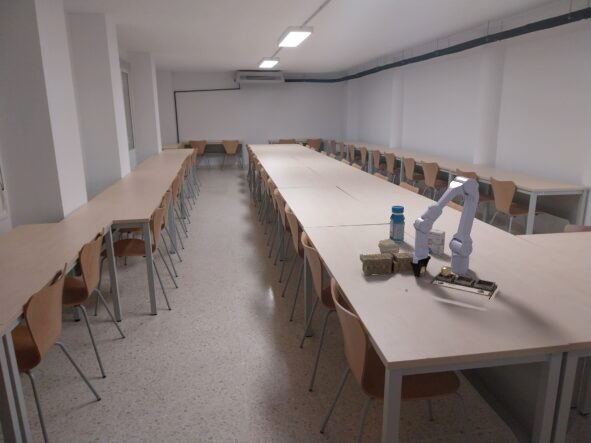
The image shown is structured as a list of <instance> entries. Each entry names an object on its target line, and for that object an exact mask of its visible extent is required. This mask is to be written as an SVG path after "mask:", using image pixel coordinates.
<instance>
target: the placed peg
mask: <svg viewBox="0 0 591 443" xmlns="http://www.w3.org/2000/svg"><path fill="white" fill-rule="evenodd" d="M440 272H441V277H443V278H448V279H450V277H451V274H452V271H451V266H445V265H444V266H441V268H440Z"/></svg>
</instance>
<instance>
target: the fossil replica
mask: <svg viewBox="0 0 591 443" xmlns="http://www.w3.org/2000/svg"><path fill="white" fill-rule="evenodd" d="M377 246H378V248H379V254H384V253H386V254H387V253H390V254H391V255H392V256H393V253H400V247H399V244H397V242H394V241H393V240H391V239H389V238H386V239H383V240H382V239H381V240H379V241H378V245H377Z"/></svg>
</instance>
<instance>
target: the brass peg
mask: <svg viewBox="0 0 591 443" xmlns="http://www.w3.org/2000/svg"><path fill="white" fill-rule="evenodd" d="M425 273H426V271H425V266H422V268H421V273H420V276H419V277H424V276H425V275H426V274H425Z"/></svg>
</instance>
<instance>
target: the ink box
mask: <svg viewBox="0 0 591 443" xmlns="http://www.w3.org/2000/svg"><path fill="white" fill-rule="evenodd" d="M445 239H446V231H445V230H442V229H441V230H440V229H435V228H432V230H430V231H429V243H428V251H429V253H431V254H434V255H435V254H436V255H439V256H440V255H442V254H445V243H446V242H445V241H446V240H445Z"/></svg>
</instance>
